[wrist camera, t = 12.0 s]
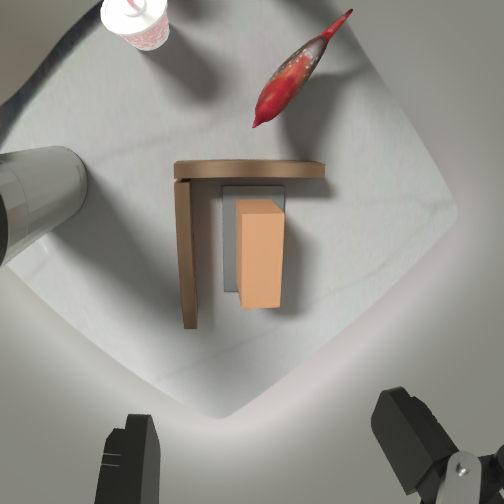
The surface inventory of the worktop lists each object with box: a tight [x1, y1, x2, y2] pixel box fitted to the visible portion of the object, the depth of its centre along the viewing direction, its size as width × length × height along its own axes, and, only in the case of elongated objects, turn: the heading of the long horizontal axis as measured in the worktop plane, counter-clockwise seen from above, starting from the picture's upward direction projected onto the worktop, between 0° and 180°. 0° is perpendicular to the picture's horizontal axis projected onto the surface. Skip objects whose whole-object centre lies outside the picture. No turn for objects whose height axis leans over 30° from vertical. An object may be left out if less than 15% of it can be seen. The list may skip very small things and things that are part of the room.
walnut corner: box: [174, 160, 325, 329], centre depth 37 cm, size 16×19×4 cm
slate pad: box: [223, 186, 284, 292], centre depth 38 cm, size 7×13×1 cm, turn 179°
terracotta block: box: [236, 199, 285, 309], centre depth 35 cm, size 10×4×7 cm, turn 179°
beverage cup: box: [101, 0, 170, 51], centre depth 22 cm, size 6×6×14 cm
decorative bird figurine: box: [252, 9, 353, 128], centre depth 28 cm, size 3×18×10 cm, turn 143°
